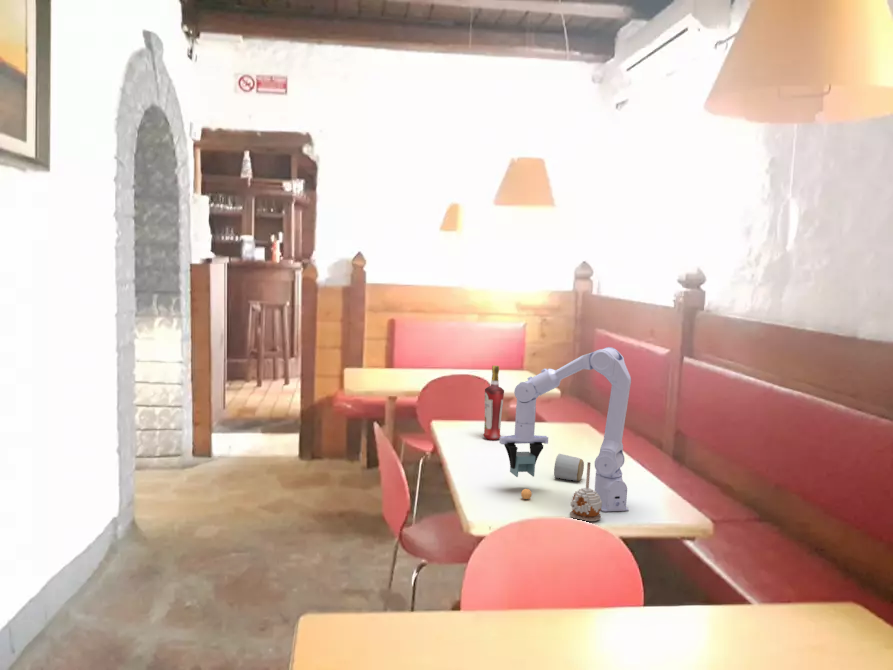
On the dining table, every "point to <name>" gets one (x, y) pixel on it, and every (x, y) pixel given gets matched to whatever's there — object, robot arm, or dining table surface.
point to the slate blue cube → (524, 463)
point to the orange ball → (526, 494)
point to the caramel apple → (586, 502)
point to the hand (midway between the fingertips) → (522, 467)
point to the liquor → (493, 407)
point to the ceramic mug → (568, 467)
